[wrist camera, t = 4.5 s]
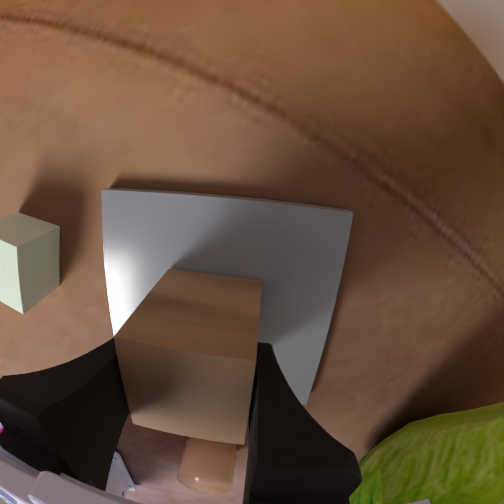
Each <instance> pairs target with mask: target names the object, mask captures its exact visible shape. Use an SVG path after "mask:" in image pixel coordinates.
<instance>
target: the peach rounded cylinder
mask: <svg viewBox="0 0 504 504" xmlns="http://www.w3.org/2000/svg"><path fill="white" fill-rule="evenodd" d="M236 450H237V444H233V443H225V442H218V441H211V440H205V439H199V438H193V437H187V441H186V445H185V448H184V452H183V456H182V459H181V463H180V467H179V470H178V474H177V479H178V481H179V482H180V483H181V484H183V485H184V486H186V487H188V488H190V489H193V490H196V491H199V492H204V493H224V492H227V491H229V490H231V488H232V482H233V474H234V466H235V458H236Z"/></svg>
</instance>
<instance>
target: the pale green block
mask: <svg viewBox="0 0 504 504" xmlns="http://www.w3.org/2000/svg"><path fill="white" fill-rule="evenodd" d="M59 240H60V226H57V225H54V224H51V223H48V222H45V221H42V220H40V219H37V218H34V217H31V216H28V215H25V214H22V213H19V212H18V213H15V214H12V215H10V216H7V217H4V218H2V219H0V301H1V302H3V303H5V304H6V305H8V306H10V307H11V308H13V309H15V310H17V311H18V312H20V313H22V314H24V313H25V312H27V311H28V310H29V309H30V308H31V307H33V306H34V305H35V304H36V303H38V302H39V301H40V300H42V299H43V298H44V297H45V296H47V295H48V294H49V293H50V292H52V291H53V290H54V289H56V288H57V287H58V286H60V280H59Z"/></svg>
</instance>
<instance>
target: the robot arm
mask: <svg viewBox="0 0 504 504" xmlns="http://www.w3.org/2000/svg"><path fill="white" fill-rule="evenodd" d="M129 413H130V410H129V407H128V403H127V399H126V395H125V390H124V386H123V382H122V377H121V373H120V368H119V363H118V358H117V352H116V347H115V341H114V338H112V339H111V340H109V341H107V342H106V343H104V344H103V345H101V346H99V347H97V348H95V349H94V350H92V351H90V352H88V353H86V354H84V355H82V356H80V357H78V358H76V359H74V360H71V361H69V362H66V363H64V364H61V365H58V366H55V367H51V368H48V369H45V370H41V371H37V372H32V373H26V374H18V375H9V376H3V377H2V378H1V379H0V422H1V424H2V425H3V427H4V429H3V430H2V432H1V433H0V497H1V498H2V499H3V500H5V501H6V502H7V503H9V504H141V503H138V502H134V501H131V500H128V499H125V496H126V493H127V490H128V489H129V490H133V491H136V487H135V485H134V483H133V481H132V479H131V477H130V475H129V473H128V471H127V469H126V467H125V464H124V462H123V460H122V458H121V456H120V454H119V453H118V452H116V451H115V450H116V446H117V443H118V440H119V437H120V434H121V431H122V429H123V426H124V423H125V421H126V419H127V417H128V415H129ZM361 482H362V475H361V470H360V467H359V464H358V461H357V459H356V456H355V454H354V452H352V451H351V450H349V449H348V448H347V447H345V446H344V445H342V444H341V443H340V442H338V441H337V440H335V439H334V438H333V437H332V436H331V435H330V434H328V433H327V432H326V431H325V430H324V429H323V428H322V427H321V426H320V425H319V424H318V423H317V422H316V421H315V420H314V419H313V418H312V417H311V415H310V414H309V413H308V412H307V411H306V409H305V408H304V407H303V405H302V404H301V403H300V401H299V400H298V399H297V397H296V396H295V394H294V393H293V391H292V389H291V388H290V386H289V384H288V382H287V381H286V379H285V377H284V375H283V373H282V371H281V369H280V366H279V364H278V362H277V359H276V356H275V354H274V350H273V346H272V345H271V344H270V343H261V342H258V345H257V358H256V366H255V373H254V380H253V387H252V394H251V401H250V408H249V450H248V460H247V470H246V479H245V488H244V497H243V504H350V501H349V497H350V496H351V495H352V493H353V492H354V491H355V490H356V489H357V488H358V487H359V485H360V484H361ZM408 504H430V501H429V499H423V500H420V501H416V502H412V503H408Z"/></svg>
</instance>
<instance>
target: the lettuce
mask: <svg viewBox="0 0 504 504" xmlns="http://www.w3.org/2000/svg"><path fill="white" fill-rule="evenodd" d="M358 464H359V467H360V470H361V475H362V482H361V484H360V485H359V487H358V488H357V489H356V490H355V491H354V492H353V493H352V495H351V496H350V497H349V501H350V504H408V503H412V502H416V501H420V500H423V499H429V501H430V504H504V402H501V403H496V404H493V405H488V406H484V407H480V408H475V409H471V410H465V411H459V412H452V413H445V414H439V415H436V416H432V417H429V418H425V419H422V420H418V421H414V422H410V423H408V424H407V425H405V426H404V427H402V428H401V429H399V430H398V431H396V432H395V433H393V434H392V435H390V436H389V437H387V438H385V439H384V440H383V441H382V442H380V443H379V444H378V445H377V446H376V447H374V448H373V449H372V450H371V451H370V452H368V453H367V454H366V455H365V456H363V458H362V459H361V460H360V462H359V463H358Z"/></svg>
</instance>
